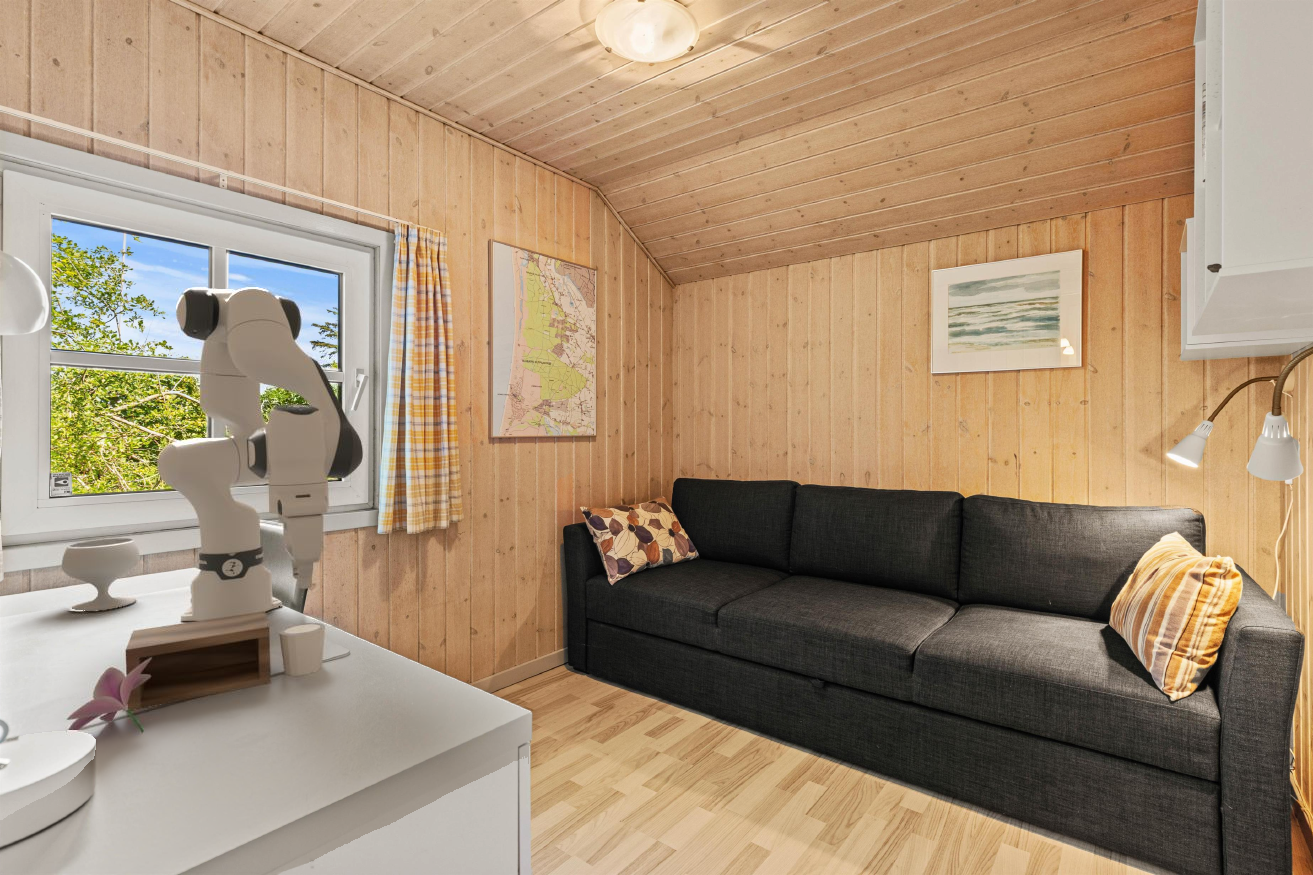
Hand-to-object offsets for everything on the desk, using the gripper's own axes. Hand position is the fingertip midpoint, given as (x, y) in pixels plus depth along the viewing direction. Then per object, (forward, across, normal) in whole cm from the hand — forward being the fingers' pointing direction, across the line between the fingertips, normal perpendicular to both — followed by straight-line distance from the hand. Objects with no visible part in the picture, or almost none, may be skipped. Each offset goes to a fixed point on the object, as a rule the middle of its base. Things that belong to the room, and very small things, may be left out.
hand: (302, 582), depth 111 cm
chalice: (+14, -75, -34) cm, 83 cm away
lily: (+15, +10, -24) cm, 30 cm away
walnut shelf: (+15, -2, -14) cm, 21 cm away
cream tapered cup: (+15, 0, 0) cm, 15 cm away
